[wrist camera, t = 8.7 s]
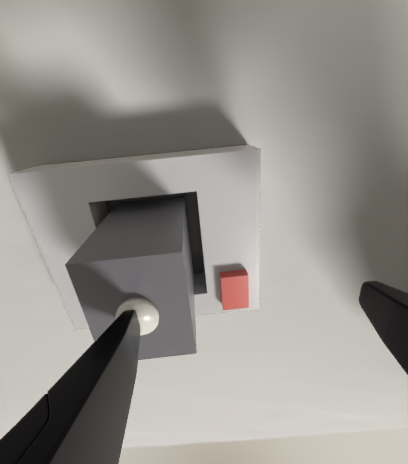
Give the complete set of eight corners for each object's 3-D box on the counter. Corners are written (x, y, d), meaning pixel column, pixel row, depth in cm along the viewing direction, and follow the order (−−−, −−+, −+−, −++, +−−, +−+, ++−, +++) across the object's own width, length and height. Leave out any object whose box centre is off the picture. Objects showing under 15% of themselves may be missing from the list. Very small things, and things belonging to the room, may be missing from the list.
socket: (248, 144, 14) (264, 150, 11) (249, 285, 18) (261, 315, 15) (37, 165, 14) (-2, 176, 11) (88, 303, 18) (70, 337, 15)
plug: (184, 195, 15) (182, 256, 8) (193, 265, 17) (196, 359, 10) (118, 202, 14) (60, 269, 8) (135, 271, 17) (100, 370, 10)
